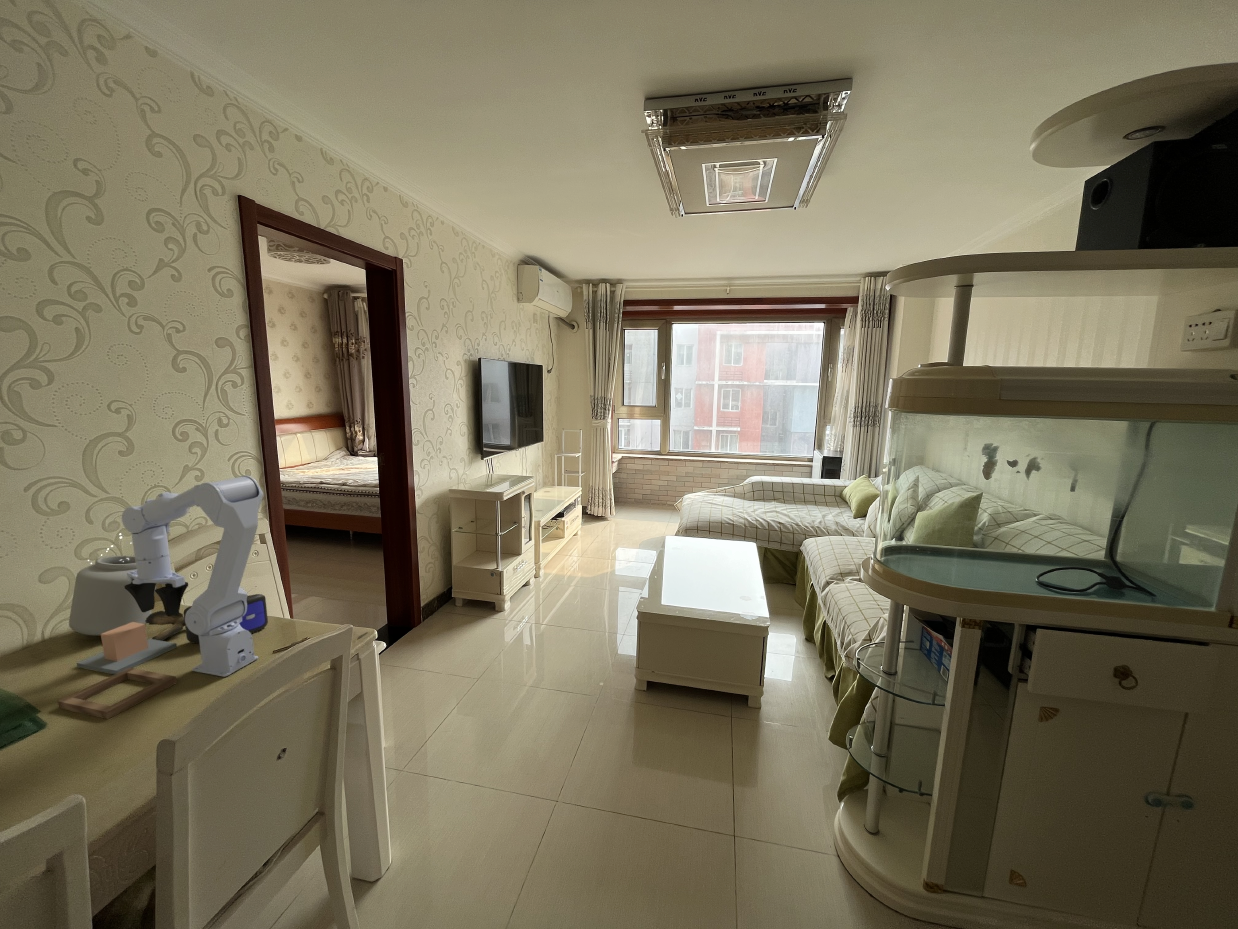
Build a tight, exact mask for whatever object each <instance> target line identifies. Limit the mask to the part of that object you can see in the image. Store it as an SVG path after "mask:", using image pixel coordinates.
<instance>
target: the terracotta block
mask: <svg viewBox="0 0 1238 929" xmlns="http://www.w3.org/2000/svg"><path fill="white" fill-rule="evenodd" d="M146 629H147V628H146V624H141V623H136V622H131V623H129V624H126V625H123V626H121V627H118V628H115V629H113V630H110V631H107V632H105V633H102V634H101V635H100V638H101V642H102V650H103V651H102V652H104V657H105V659H108V660H113V661H119V660H122V659H124V658H126V657H129V656H131V655H133V654H136V653H138V652H140V651H143V650H145V649H147V648H148V642H147V638H148V636H147V630H146Z"/></svg>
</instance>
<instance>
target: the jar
mask: <svg viewBox="0 0 1238 929" xmlns="http://www.w3.org/2000/svg"><path fill="white" fill-rule="evenodd" d="M118 535H119V539H123V536H121V535H122V533H119V534H118ZM129 544H132V545H133V542H130V543H129ZM110 547H111V548H113V547H114V545H110ZM109 550H110V548H107V549H106V552H105V553H108V551H109ZM100 556H103V554H100ZM87 561H88V562H90V559H87ZM135 570H137V568H136V561H135V555H110V556H104V557H99V558H97V559H95V561H94V563H93V562H90V565H88V566H86V567H84V568H82V569H80V570H79V571H78V572H77V574H76V576H75V581H74V588H73V592H72V593H73V594H72V595H73V596H72V599H71V607H70V614H69V619H68V626H69V628H70V629H71V630H72V631H73V632H76V633H79V634H81V635H85V636H101V634H102V633H105V632H107V631H110V630H113V629H115V628H118V627H121V626H123V625H126V624H129V623H131V622H136V623H141V624H145V625H146V624H147V623H146V622H145V620H146V618H147V617H148V616H149V615H150V614H152V613H153V609H152V610H150V611H147V612H142V611H141V610H140V608H139V606H138V604H137V602H136V600H135V599H134V597H133V596H132V595H131V594H130V593H129V592H128V591H127V590H126V589H125V587H124V586H125V585H128V584H131V582H132V581H128V579H127V573H129V572H132V571H135ZM155 589H157V586H156V587H155ZM155 594H156V592H155V593H154V596H155Z"/></svg>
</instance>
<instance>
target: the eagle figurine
mask: <svg viewBox="0 0 1238 929" xmlns="http://www.w3.org/2000/svg"><path fill="white" fill-rule="evenodd" d="M145 622H146V624H148V625H153V626H155V625H156V626H157V625H158V626H163V625H171V626H169V627H168V628H166V629H164V630H162V631H160V632H159V633H158V634H157V635H155V636H152V637H151V639H154V640H160V641H165V640H166V639H167V638H169V637H171V636H172V635H175V634H177V633H179V632H181V631H183V629H184V627H185V620H184V613H182V612H180V611H179V613H177V614H175V615H172V616H167V615H166V613H165V610H159V611H156V612H152V613H151V614H150V615H149V616H148V617H147V618H146V620H145Z"/></svg>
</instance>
